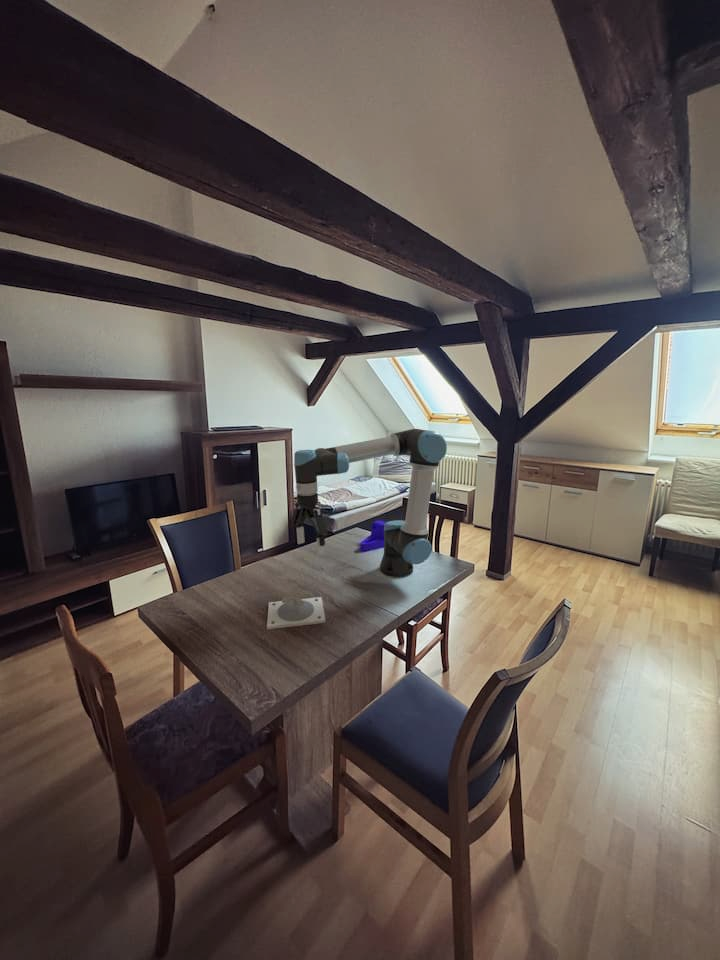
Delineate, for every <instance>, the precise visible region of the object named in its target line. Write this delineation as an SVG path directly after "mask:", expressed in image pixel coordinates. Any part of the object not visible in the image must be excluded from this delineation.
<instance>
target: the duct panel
mask: <svg viewBox="0 0 720 960" xmlns="http://www.w3.org/2000/svg"><path fill="white" fill-rule="evenodd" d="M301 599H302V600H303V602H304V603H303V605H301V606H300V605H299V604H298V605H299V610H297V611H294V606H293V601H289V602H286V603H282V600H279V601H268V610H267V622H266V630H272V629H273V630H275V629H281V628H282V629H283V628H291V627H300V626H301V627H302V626H309V625H316V624H317V625H318V624H319V625H320V624H325V623H326V622H327V621H326V616H325V610H324V603H323V599H322V596H320V597H319V596H318V597H310V598H301Z"/></svg>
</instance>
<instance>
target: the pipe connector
mask: <svg viewBox="0 0 720 960" xmlns="http://www.w3.org/2000/svg"><path fill="white" fill-rule="evenodd" d="M291 585H292V588H289V589H288V590H287V593H288V594H289V596H285V597H282V598H281V601H282V603H286V602H289V601H293V606H294V611H297V610H299V605H300V606H301V605H303V603H304V602H303V600H302V599H303V598H305V597H308V596H310V591H309V590H304V591H302V592H299V588H298V585H299V583H297V582H294V583H292V584H291ZM298 604H299V605H298Z"/></svg>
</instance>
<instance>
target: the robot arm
mask: <svg viewBox="0 0 720 960" xmlns="http://www.w3.org/2000/svg"><path fill="white" fill-rule="evenodd" d="M447 448H448V445H447V442H446V439H445V437H443V435H442V434H441V433H439V432H436V431H434V430H425V429H421V428H410V429H407V430H403V431H402V430H401V431H398V432H392V433H390V435H388V436H386V437H381V438H373V439H369V440H364V441H358V442H355V443H354V442H352V443H348V444H343V445H337V446H333V447H327V448H323V447H318V448H315V449H314V450H313V449H299V450H296V451H295V452H294V458H293V459H294V461H293V463H294V464H293V465H294V473H295V485H296V486H295V489H296V493H297V494H296V503H295V510H294V513H293V519H292V522H291V523H292V525H293V526H294V527H295V529H296V540H297V544H298V545H301V544H304V543H305V529H304V522H305V520H306V519H307V520H308V521H309V522H310V523H311V525H312V526H313V529H314V530H315V531H314V532H315V533H316V535H317V537H316V546H317V547H316V549H317V550H316V551H317V555H318V556H320V555H323V554H325V553H326V547H325V546H326V543H325V542H326V540H325V538H326V537H328V536H329V532H328V529H327V525H326V522H325V520H324V516H323V510H322V508H319V509H317V507H316V506H317V504H318V503H319V494H318V492H319V491H318V476H319V477H320V476H327V475H328V476H330V475H341V474H344V473H347V472H348V471H349V468H350V464H351V463H356V462H357V463H358V462H361V461H366V460H367V461H368V460H371V459H377V458H381V457H385V456H392V455H393V456H395V457H398V456H409V464H410V465H411V467H412V469H411V476H410V482H409V491H408V497H407V498H408V499H407V506H406V513H405V520H399V519H398V520H396V519H395V520H389V521H386V522H387V523H385V525H384V548H383V556H382V557H381V561H380V563H379V571H380V573H381V574H382V575H384V576H387V577H391V578H405V577H408V576H411V575H412V574H413V573H414V565H420V564H422V563H425V561H427V560H428V559H429V557H430V556H431V553H432V543H431V542H430V540H428V539H429V534H430V533H429V530H428V528H427V522H428V521H427V520H428V512H429V507H430V502H431V501H430V500H431V499H430V498H431V492H432V485H433V480H434V479H433V477H434V472H435V470H437V468H439V466H440V461H442V460H443V458H445V456H446V454H447Z"/></svg>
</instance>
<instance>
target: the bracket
mask: <svg viewBox="0 0 720 960" xmlns="http://www.w3.org/2000/svg"><path fill="white" fill-rule="evenodd" d="M387 522H388V521H383V520H380V519H378V520H375V521H373V522H371V524H370V534H369V535H368V536H367V537H366V538H365V539H363V540H362V541H360V542H359V547H360V550H359V551H360V552H361V553H366V552H371V551H374V550H375V551H376V550H379V549H384V525H385V523H387Z"/></svg>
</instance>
